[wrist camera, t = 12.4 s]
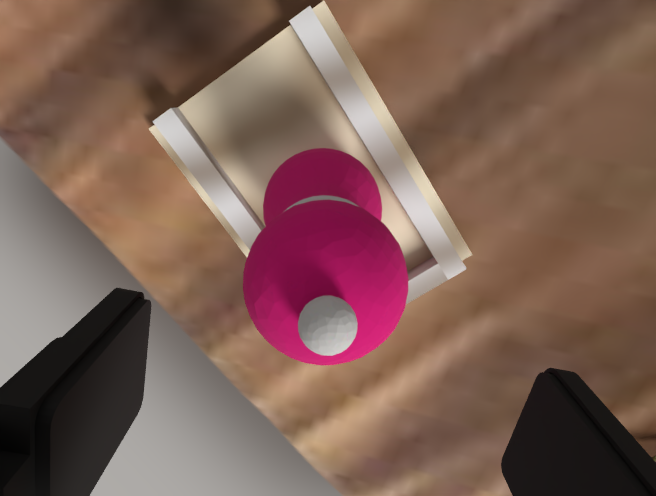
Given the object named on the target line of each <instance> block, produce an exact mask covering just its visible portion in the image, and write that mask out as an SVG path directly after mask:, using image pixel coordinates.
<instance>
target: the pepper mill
mask: <svg viewBox="0 0 656 496" xmlns="http://www.w3.org/2000/svg"><path fill="white" fill-rule="evenodd" d="M263 218H264V222H265V226H266V227H265V228H264V229H263V230H262V231H261V232H260V233H259V234H258V236H257V238H256V239H255V241H254V243H253V244H252V246H251V249H250V252H249V254H248V257H247V260H246V263H245V268H244V276H243V292H244V299H245V304H246V307H247V309H248V312H249V315H250V317H251V319H252V321H253V323H254V324H255V326H256V328H257V330H258V331H259V332H260V333H261V335H262V336H263V337H264V338H265V339H266V341H267V342H269V343H270V344H271V345H272V346H273V347H275V348H276V349H277V350H278V351H280V352H282V353H283V354H285V355H287V356H289V357H290V358H293V359H295V360H298V361H301V362H304V363H309V364H316V365H335V364H341V363H346V362H350V361H353V360H355V359H358V358H361V357H363V356H364V355H366V354H367V353H369V352H371V351H372V350H374V349H375V348H377V347H378V346H379V345H380V344H381V343H383V342H384V341H385V340H386V339H387V338H388V336H389V335H390V334H391V333H392V332H393V330H394V329H395V327H396V326H397V324H398V322H399V320H400V318H401V316H402V313H403V311H404V309H405V305H406V300H407V295H408V273H407V267H406V262H405V258H404V255H403V253H402V250H401V247H400V245H399V243H398V242H397V240H396V239H395V237H394V236H393V235H392V233H391V232H390V230H389V229H388V228H387V227H386V225H385V224H384V223H383V222H381V219H382V202H381V196H380V193H379V189H378V186H377V183H376V181H375V179H374V177H373V176H372V174H371V173H370V171H369V170H368V169H367V168H366V167H365V166H364V165H363V164H362V163H361V162H360V161H359V160H357V159H356V158H354V157H353V156H351V155H349V154H347V153H345V152H342V151H339V150H335V149H329V148H316V149H310V150H306V151H303V152H300V153H298V154H295V155H294V156H292V157H290V158H289V159H287V160H286V161H285V162H284V163H283V164H281V165H280V166H279V167H278V169H277V170H276V171H275V172H274V174H273V175H272V177H271V179H270V181H269V183H268V186H267V188H266V191H265V196H264V202H263Z"/></svg>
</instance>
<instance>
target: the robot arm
mask: <svg viewBox="0 0 656 496" xmlns="http://www.w3.org/2000/svg"><path fill="white" fill-rule="evenodd" d="M150 314H151V302H150V300H145V299H144V294H143V293H142V292H137V291H132V290H126V289H121V288H116V289H114V290H113V291H112V292H111V293H110V294H109V295H107V296H106V297H105V298H104V299H103V300H102V301H101V302H100V303H99V304H98V305H97V306H95V307H94V308H93V309H92V310H91V311H90V312H89V313H88V314H87V315H86V316H85V317H83V318H82V319H81V320H80V321H79V322H78V323H77V324H76V325H75V326H74V327H73V328H72V329H70V330H69V331H68V332H67V333H66V334H65V335H64V336H63V337H60V338H56V339H55V340H53V341H52V342H50V343H49V344H48V345H47V346H46V347H45V348H44V349H43V350H42V351H41V352H40V353H38V354H37V355H36V356H35V357H34V358H33V359H32V360H30V361H29V362H28V363H27V364H26V365H25V366H24V367H23V368H22V369H20V370H19V371H18V372H17V373H16V374H15V375H14V376H13V377H12V378H10V379H9V380H8V381H7V382H6V383H5V384H4V385H3V386H2V387H0V496H89V495H90V494H91V492H92V490H93V489H94V487H95V485H96V484H97V482H98V480H99V478H100V477H101V475H102V473H103V472H104V470H105V468H106V467H107V465H108V463H109V462H110V460H111V458H112V457H113V455H114V453H115V451H116V450H117V448H118V446H119V445H120V443H121V441H122V440H123V438H124V436H125V435H126V433H127V431H128V430H129V428H130V426H131V424H132V423H133V421H134V419H135V417H136V416H137V414H138V412H139V410H140V408H141V405H142V401H143V393H144V383H145V371H146V359H147V348H148V336H149V326H150ZM501 467H502V473H503V476H504V478H505V480H506V482H507V484H508V486H509V489H510V491H511V493H512V495H513V496H656V462H655V461H654V460H653V459H652V458H651V457H650V456H649V454H648V453H647V452H646V451H645V450H644V449H643V448H642V447H641V445H640V444H639V443H638V442H637V441H636V440H635V439H634V438H633V436H632V435H631V434H630V433H629V432H628V431H627V430H626V429H625V427H624V426H623V425H622V424H621V423H620V422H619V421H618V420H617V418H616V417H615V416H614V415H613V414H612V413H611V412H610V410H609V409H608V408H607V407H606V406H605V405H604V404H603V403H602V401H601V400H600V399H599V398H598V397H597V396H596V395H595V394H594V392H593V391H592V390H591V389H590V388H589V387H588V386H587V385H586V383H585V382H584V381H583V380H582V379H581V378H580V377H579V376H578V375H577V374H576V373H575V372H570V371H565V370H560V369H554V368H549V369H547V370H546V371H545V372H544V373H543V372H542V373H540V374H539V375H538V376H537V378H536V380H535V382H534V384H533V387H532V389H531V392H530V394H529V396H528V399H527V401H526V403H525V406H524V408H523V410H522V413H521V415H520V417H519V420H518V422H517V424H516V427H515V429H514V431H513V434H512V436H511V439H510V441H509V443H508V446H507V448H506V450H505V453H504V455H503V458H502V463H501Z"/></svg>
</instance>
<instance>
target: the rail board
mask: <svg viewBox="0 0 656 496" xmlns="http://www.w3.org/2000/svg"><path fill="white" fill-rule="evenodd" d="M289 22H290V26H288V27H287V28H285V29H284V30H283V31H281V32H280V33H279V34H277V35H276V36H275V37H273V38H272V39H270V40H269V41H268V42H266V43H265V44H264V45H262V46H261V47H260V48H258V49H257V50H255V51H254V52H253V53H251V54H250V55H249V56H247V57H246V58H245V59H243V60H242V61H240V62H239V63H238V64H236V65H235V66H234V67H232V68H231V69H230V70H228V71H227V72H226V73H224V74H223V75H221V76H220V77H219V78H217V79H216V80H215V81H213V82H212V83H211V84H209V85H208V86H206V87H205V88H204V89H202V90H201V91H200V92H198V93H197V94H196V95H194V96H193V97H191V98H190V99H189V100H187V101H186V102H185V103H183V104H182V105H181V106H179V107H176V108H170V109H169V110H167V111H166V112H165V113H163V114H162V115H161V116H159V117H158V118H157V119H155V120H154V121H152V122H153V123H154V124H155V125H153V126H152V127H151V128H149V130H150V131H151V133H152V134H153V135H154V136H155V138H156V139H157V140H158V142H159V143H160V144H161V146H162V147H163V148H164V150H165V151H166V152H167V153H168V155H169V156H170V157H171V159H172V160H173V161H174V163H175V164H176V165H177V167H178V168H179V169H180V170H181V172H182V173H183V174H184V176H185V177H186V178H187V180H188V181H189V182H190V184H191V185H192V186H193V187H194V189H195V190H196V191H197V193H198V194H199V195H200V197H201V198H202V199H203V201H204V202H205V203H206V204H207V206H208V207H209V208H210V210H211V211H212V212H213V214H214V215H215V216H216V218H217V219H218V220H219V221H220V223H221V224H222V225H223V227H224V228H225V229H226V231H227V232H228V233H229V235H230V236H231V237H232V238H233V240H234V241H235V242H236V244H237V245H238V246H239V248H240V249H241V250H242V252H243V253H244V254H245V255H246V257H248V254H249V252H250V249H251V246H252V244H253V243H254V241H255V239H256V238H257V236H258V234H259V233H260V232H261V231H262V230H263V229H264V228H265V227H266V226H265V222H264V218H263V202H264V196H265V191H266V188H267V186H268V183H269V181H270V179H271V177H272V175H273V174H274V172H275V171H276V170H277V169H278V167H279V166H280V165H281V164H283V163H284V162H285V161H286V160H287V159H289V158H290V157H292V156H294V155H295V154H298V153H300V152H303V151H306V150H310V149H316V148H329V149H335V150H339V151H342V152H345V153H347V154H349V155H351V156H353V157H354V158H356V159H357V160H359V161H360V162H361V163H362V164H363V165H364V166H365V167H366V168H367V169H368V170H369V171H370V173H371V174H372V176H373V177H374V179H375V181H376V183H377V186H378V189H379V193H380V196H381V202H382V219H381V222H383V223H384V224H385V225H386V227H387V228H388V229H389V230H390V232H391V233H392V235H393V236H394V237H395V239H396V240H397V242H398V243H399V245H400V247H401V250H402V253H403V255H404V258H405V262H406V267H407V273H408V295H407V300H406V304H407V303H409V302H411V301H412V300H414V299H416V298H418V297H419V296H421V295H423V294H424V293H426V292H428V291H430V290H431V289H433V288H435V287H436V286H438V285H440V284H442V283H443V282H445V281H447V280H449V279H450V278H452V277H454V276H455V275H457V274H459V273H461V272H462V271H464V270H466V267H465V265H464V264H463V262H462V260H464V259H466V258H467V257H469V256H471V255H472V253H471V252H470V250H469V248H468V246H467V245H466V243H465V241H464V240H463V238H462V236H461V234H460V233H459V231H458V229H457V228H456V226H455V224H454V222H453V221H452V219H451V217H450V216H449V214H448V212H447V210H446V209H445V207H444V205H443V204H442V202H441V200H440V198H439V197H438V195H437V193H436V192H435V190H434V188H433V186H432V185H431V183H430V181H429V180H428V178H427V176H426V174H425V173H424V171H423V169H422V168H421V166H420V164H419V162H418V161H417V159H416V157H415V156H414V154H413V152H412V150H411V149H410V147H409V145H408V144H407V142H406V140H405V138H404V137H403V135H402V133H401V132H400V130H399V128H398V126H397V125H396V123H395V121H394V120H393V118H392V116H391V114H390V113H389V111H388V109H387V108H386V106H385V104H384V102H383V101H382V99H381V97H380V96H379V94H378V92H377V90H376V89H375V87H374V85H373V84H372V82H371V80H370V78H369V77H368V75H367V73H366V72H365V70H364V68H363V66H362V65H361V63H360V61H359V60H358V58H357V56H356V54H355V53H354V51H353V49H352V48H351V46H350V44H349V42H348V41H347V39H346V37H345V36H344V34H343V32H342V30H341V29H340V27H339V25H338V24H337V22H336V20H335V18H334V17H333V15H332V13H331V12H330V10H329V8H328V6H327V5H326V3H325V1H322V2H321V3H319V4H318V5H317V6H315V7H314V8H313V9H312V8H311V6H309V7H307V8H306V9H305V10H303V11H302V12H300V13H299V14H298V15H296V16H295V17H294V18H292V19H291V20H290V21H289Z"/></svg>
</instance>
